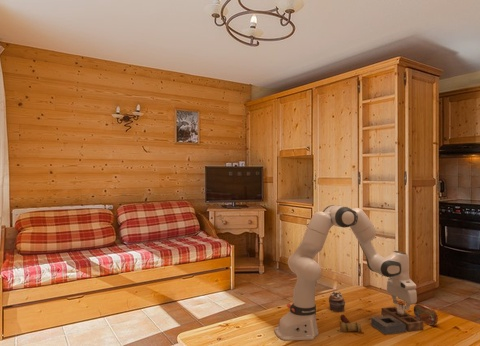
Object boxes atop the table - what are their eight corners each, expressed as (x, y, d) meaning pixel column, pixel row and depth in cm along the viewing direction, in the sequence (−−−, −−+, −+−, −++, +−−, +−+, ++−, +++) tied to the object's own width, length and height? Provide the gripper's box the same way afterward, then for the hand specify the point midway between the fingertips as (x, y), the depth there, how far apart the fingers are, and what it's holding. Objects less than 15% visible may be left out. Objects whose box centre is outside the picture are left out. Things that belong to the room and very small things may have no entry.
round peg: (400, 324, 186) (400, 303, 186) (395, 321, 190) (395, 301, 190) (407, 323, 187) (406, 302, 187) (402, 320, 191) (401, 300, 191)
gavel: (332, 311, 198) (350, 311, 197) (332, 319, 197) (350, 319, 197) (341, 324, 177) (361, 324, 176) (342, 333, 176) (361, 333, 176)
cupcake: (327, 311, 205) (327, 294, 205) (330, 305, 214) (329, 289, 214) (344, 313, 201) (344, 296, 201) (346, 307, 210) (345, 291, 210)
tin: (413, 316, 195) (413, 302, 195) (418, 316, 196) (417, 301, 196) (434, 328, 181) (433, 312, 181) (439, 327, 181) (438, 311, 182)
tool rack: (408, 331, 177) (408, 323, 177) (381, 315, 198) (381, 308, 198) (423, 329, 179) (423, 322, 179) (395, 313, 200) (395, 306, 200)
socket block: (385, 334, 174) (384, 326, 174) (371, 324, 185) (370, 317, 185) (405, 332, 176) (405, 324, 176) (390, 322, 188) (390, 315, 188)
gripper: (383, 276, 198) (384, 300, 198) (408, 287, 178) (408, 313, 178) (393, 275, 200) (393, 299, 199) (418, 286, 180) (419, 312, 179)
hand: (401, 306), depth 189 cm, fingers open, 8 cm apart
